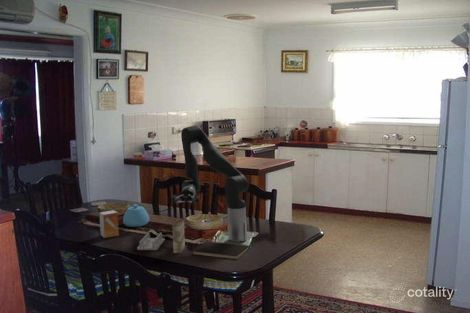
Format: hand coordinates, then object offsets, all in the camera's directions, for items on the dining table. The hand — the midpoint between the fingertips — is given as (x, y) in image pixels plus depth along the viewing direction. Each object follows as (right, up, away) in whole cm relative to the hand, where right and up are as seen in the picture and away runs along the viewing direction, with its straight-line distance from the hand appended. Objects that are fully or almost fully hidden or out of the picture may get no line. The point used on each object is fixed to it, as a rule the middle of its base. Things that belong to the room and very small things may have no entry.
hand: (184, 202), depth 271 cm
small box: (-42, -19, +15) cm, 48 cm away
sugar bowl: (-31, -16, +37) cm, 51 cm away
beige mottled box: (-1, -22, -11) cm, 25 cm away
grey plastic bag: (-16, -21, -3) cm, 27 cm away
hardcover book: (+19, -23, -15) cm, 34 cm away
